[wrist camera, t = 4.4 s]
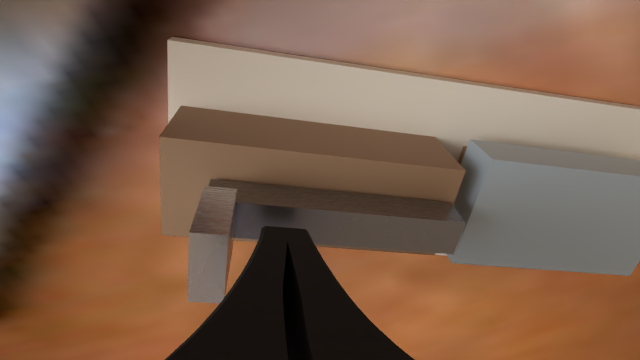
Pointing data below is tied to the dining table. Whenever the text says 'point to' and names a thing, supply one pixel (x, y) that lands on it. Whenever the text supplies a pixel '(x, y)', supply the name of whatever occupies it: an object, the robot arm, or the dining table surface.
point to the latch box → (351, 127)
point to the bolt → (308, 225)
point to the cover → (548, 210)
